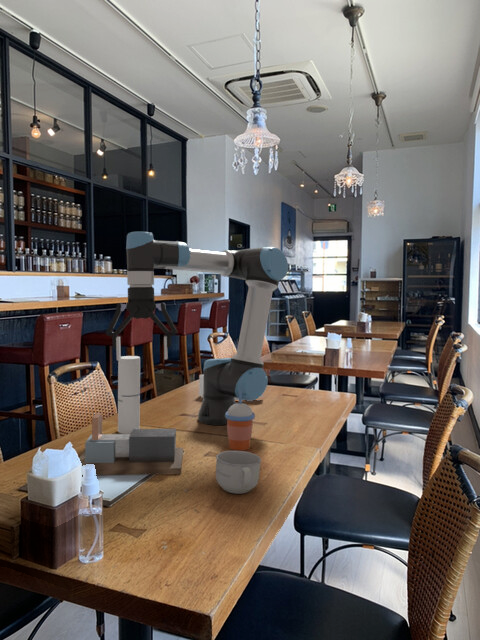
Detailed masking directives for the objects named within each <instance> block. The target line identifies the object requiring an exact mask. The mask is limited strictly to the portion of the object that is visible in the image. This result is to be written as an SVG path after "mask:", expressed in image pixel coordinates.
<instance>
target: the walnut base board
mask: <svg viewBox="0 0 480 640" xmlns="http://www.w3.org/2000/svg"><path fill="white" fill-rule="evenodd" d="M183 456H184V447H176V454H175V461H174V462H136V463H129V457H116V459H115V461H114V463H85V449H84V450H83V451H82V453H81V454H80V456H79V457H78V458H80V461H81V463H82V466H83V465H86V464H94V465H95V469H96V474H97V475H96V476H124V475H125V476H127V475H131V476H132V475H133V476H135V475H136V476H137V475H182V470H183V469H182V468H183V467H182V466H183V458H184V457H183Z"/></svg>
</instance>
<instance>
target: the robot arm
mask: <svg viewBox="0 0 480 640" xmlns="http://www.w3.org/2000/svg"><path fill="white" fill-rule="evenodd" d="M125 250H126V265H127V266H126V267H127V269H126V278H127V279H126V280H127V281H126V282H127V285H128V286H129V287H128V288H127V303H126V304H125V303H121V302H118V303H116V309H115V310H116V311H115V312H114V315H113V317H112V319H111V321H110V322H109V325H108V327H107V329H106V331H105V336H108V337H111V338H112V348H113V349H115V350H116V361H118V360H120V359H121V357H122V355H121V354H122V353H121V352H122V351H121V350H122V349H121V336H119V334H121V332H122V331H123V330H124V329H125V327H126V326H127V325H128V324H129V323H130V321H132V319H133V318H134V319H137V320H138V319H144V320H145V319H147V320H148V318H150V319H151V320H152V321H153V322H154V323H155V324H156V325H157V327H158V328H159V329H160V330H161V331H162V332H163V333H164V337H163V347H164V352H163V354H164V359H163V360H168V359H169V357H168V353H169V352H168V348H171V347H172V336H174V335H177V333H178V330H177V328H176V326H175V324H174V323H173V320H172V318H171V317H170V315H169V313H168V311H167V308H166V303H165V302H161V303H156V302H155V288H154V285H155V275H154V274H155V272H154V271H155V269H163V270H164V269H166V270H174V271H175V270H177V271H188V272H189V271H190V272H200V273H212V274H219V275H220V276H221V277H228V278H234V279H239V280H243V281H245V284H246V285H247V287H248V290H247V294H246V295H247V296H246V299H245V306H244V311H243V317H242V322H241V327H240V333H239V338H238V344H237V348H236V353H235V354H234V355H233V356H231V357H222V358H209V359H207V360H205V361H204V363H203V370H202V371H203V375H204V385H203V397H202V401H201V405H200V406H199V407H200V408H199V410H198V414H197V416H198V417H197V420H198V421H199V422H200V423H201V424H205V425H210V426H227V423H228V422H227V419H226V417H225V414H226V412H227V411H228V409H229V408H230V407H231V406H232V405H233V404H236V403H237V402H235V399H234V398H235V397H236V398H239V389H242V400H247V401H246V402H254V401H253V400H256V399H258V398H259V397H260V396H261V395H262V394H263V395H264V393H265V391H266V389H267V387H268V382H269V381H268V379H269V378H268V376H267V373H266V371H265V370H264V365H265V364H264V361H263V360H262V359H261V357H262V352H263V346H264V342H265V341H264V340H265V335H266V330H267V324H268V319H269V312H270V307H271V303H272V296H273V292H274V291H276V289H278V287H279V281H281V280H283V279H285V277H286V275H287V274H288V272H289V262H288V259H287V257H286V255H285V253H284V252H283V250H281V249H279V248H278V247H275V246H265V247H253V248H245V249H239V250H238V249H237V250H227V249H225V250H222V251H221V252H220V251H211V250H201V249H195V248H193V249H192V248H190V246H189V245H188V244H187V243H186V242H183V241H179V240H176V241H172V240H171V241H170V240H158V239H157V240H156V239H154V234H153V232H149V231H131V232H128V233H127V235H126V247H125ZM125 309H126V310H127V311H128V312H129V313H128V315H127V316H126V317H125V319H124V320H122V322H121V323H120V325H119V326H118V327H117V328H116V329H115V331H114V328H115V327H116V324H117V322H118V320H119V319H120V316H121V314H122V312H124V311H125ZM156 309H158V311H161V313H162V316H163V317H164V319H165V321H166V324H167V325H168V327H169V329H170V330H169V329H168V328H167V326H165V324H164V323H163V322H162V321H161V320H160V318H158V316H157V314H155V313H154V311H155V310H156Z"/></svg>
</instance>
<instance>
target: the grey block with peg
mask: <svg viewBox="0 0 480 640" xmlns="http://www.w3.org/2000/svg"><path fill="white" fill-rule="evenodd" d="M91 435H92V440H91V442H114V457H129V436H130V434H122V433H109V434H107V433H106V434H104V433H103V413H102V412H95V414H93V416H92V417H91Z"/></svg>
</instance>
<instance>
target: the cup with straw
mask: <svg viewBox="0 0 480 640" xmlns="http://www.w3.org/2000/svg"><path fill="white" fill-rule="evenodd" d="M235 403H236V404H233V405H232V406H231V407H230V408H229V409H228V411H227V412H226V414H225V417H226V419H227V422H228V423H227V425H226V428H227V438H228V447H229V449H230V450H231V451H233V450H235V451H246V450H249V449H250V445H251V438H252V435H253V434H252V433H253V432H252V431H253V420H255V417H256V414H255V413H254V411H253V410H252V408H251V407H250V406H249V405H248V404H246V403H244V402H243V401H242V389H239V402H235Z"/></svg>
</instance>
